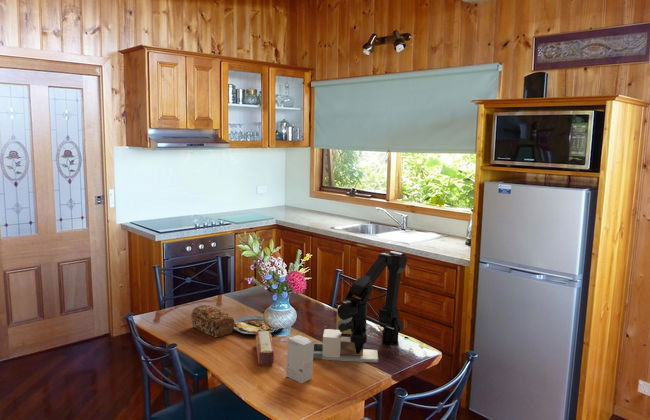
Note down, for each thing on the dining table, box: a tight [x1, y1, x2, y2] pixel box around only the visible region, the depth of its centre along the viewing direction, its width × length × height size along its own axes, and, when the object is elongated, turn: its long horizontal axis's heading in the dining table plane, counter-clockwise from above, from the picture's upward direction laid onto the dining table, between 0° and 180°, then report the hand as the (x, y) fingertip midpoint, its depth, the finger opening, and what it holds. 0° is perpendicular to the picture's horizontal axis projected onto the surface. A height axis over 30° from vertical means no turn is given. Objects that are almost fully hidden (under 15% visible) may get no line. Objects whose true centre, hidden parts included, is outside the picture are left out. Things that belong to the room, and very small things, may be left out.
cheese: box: [335, 304, 352, 335], centre depth 245 cm, size 10×11×10 cm
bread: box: [190, 304, 235, 338], centre depth 240 cm, size 19×11×10 cm, turn 47°
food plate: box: [233, 314, 275, 336], centre depth 245 cm, size 25×23×4 cm
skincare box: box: [285, 334, 315, 384], centre depth 196 cm, size 8×6×15 cm
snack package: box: [255, 331, 275, 367], centre depth 216 cm, size 21×7×7 cm, turn 9°
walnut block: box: [340, 336, 364, 356], centre depth 217 cm, size 14×5×6 cm, turn 86°
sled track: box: [313, 328, 379, 364], centre depth 217 cm, size 27×10×9 cm, turn 86°
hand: (357, 351), depth 217 cm, fingers closed on walnut block, 5 cm apart
